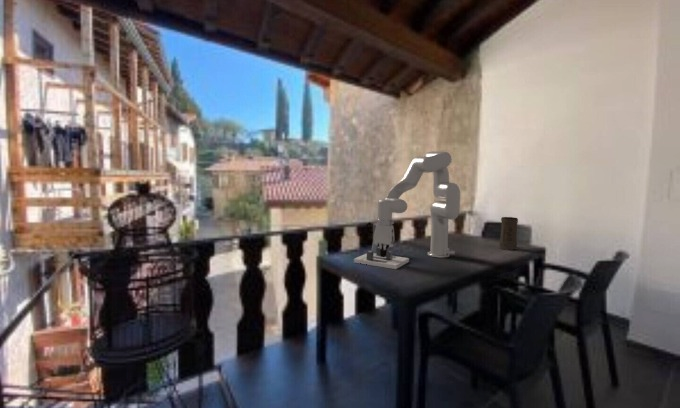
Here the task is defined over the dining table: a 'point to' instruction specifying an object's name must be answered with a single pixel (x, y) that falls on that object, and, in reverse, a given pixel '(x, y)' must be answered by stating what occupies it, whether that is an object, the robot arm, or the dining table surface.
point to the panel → (382, 261)
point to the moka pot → (374, 247)
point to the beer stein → (508, 233)
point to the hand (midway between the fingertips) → (383, 256)
